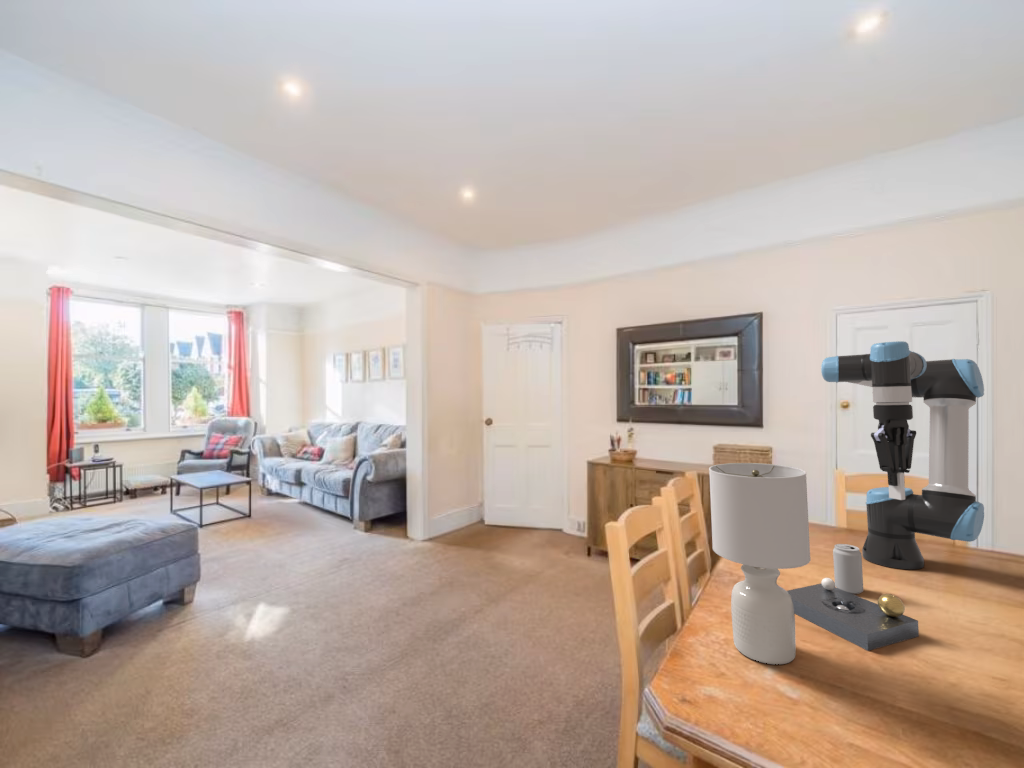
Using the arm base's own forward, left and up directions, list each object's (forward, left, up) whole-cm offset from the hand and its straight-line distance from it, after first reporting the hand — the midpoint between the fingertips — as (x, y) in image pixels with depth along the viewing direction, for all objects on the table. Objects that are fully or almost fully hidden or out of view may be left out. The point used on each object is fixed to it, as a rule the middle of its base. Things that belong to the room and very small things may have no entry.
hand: (897, 498), depth 112 cm
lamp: (+44, 0, -29) cm, 52 cm away
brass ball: (+11, +4, -23) cm, 25 cm away
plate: (+16, -3, -28) cm, 33 cm away
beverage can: (-1, -14, -29) cm, 32 cm away
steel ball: (+16, -3, -27) cm, 31 cm away
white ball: (+11, -10, -23) cm, 28 cm away
